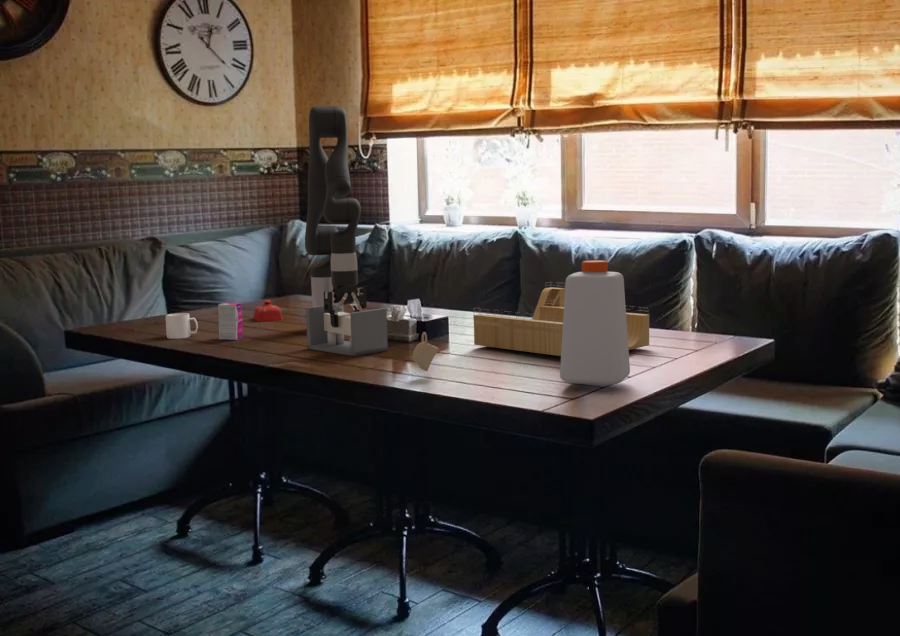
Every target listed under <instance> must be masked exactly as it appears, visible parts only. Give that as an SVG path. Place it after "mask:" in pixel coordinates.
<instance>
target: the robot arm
mask: <svg viewBox="0 0 900 636" xmlns="http://www.w3.org/2000/svg"><path fill="white" fill-rule="evenodd" d="M348 128H349V127H348V117H347V112H346V110H345V108H344V107H342V106H340V105H339V106H335V105H333V106H331V105H318V106H313V107H311V108H310V110H309V115H308V138H309V140H308V141H309V142H308V143H309V146H308V147H309V148H308V149H309V156H308V157H309V159H308V160H309V161H308V172H307V174H308V175H307V214H306V222H305V223H306V225H305V234H304V248H305V251H306V253H307V254H308V255H309V256H328V258H327V259H326V260H324V262H321V263H320V264H318V265H315V266H312V268H311V269H310V281H311V283H310V284H311V285H310V286H311V303H312V306H311V307H315V306H323V305H324V312H327V313H329V314H330V319H331V325H332V327H334V328H337V327H339V324H338V315H337V314H338V311H339V309H340V308H342V312H344V313H345V311H344V305H350V306H351V308H352V309H353V310H352V312H360V311H363V309H366V308H367V307H368V306H367V305H368V304H367V303H368V302H367V288H365V287H357V285H358V284H359V275H358V258H357V246H356V244H357V243H356V239H357V230H358V225H359V221H360V218H361V211H362V207H361V204H360V202H359V200H358V199H356V198H353V197H347V198H344V197H346V196H348V195H349V194H350V193H351V191H352V184H351V177H350V176H351V175H350V170H349V169H350V168H349V131H348V130H349V129H348ZM332 138H333V139H335V138H336V139H337V141H336V145H335V147H334V149H333V151H332V152H331V153H330V156H329V157H328V155H327V154H326V152H325V150H324V148H323V146H322V143H321V139H332ZM322 217H323V218H324V220H325V221H326V222H327V223H329V224H334V225H335V224H347V226H346V228H344V229H343V230H340V231H339V229H338V227H336V225H335V226H334V225H330V226H329V225H327V226H326V225H325V226H318V225H319V223H320V220H322V219H321V218H322Z"/></svg>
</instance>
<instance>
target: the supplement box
mask: <svg viewBox="0 0 900 636" xmlns="http://www.w3.org/2000/svg"><path fill="white" fill-rule="evenodd" d="M217 306H218V308H217V310H218V338H219V339H218V340H219V341H227V340H229V341H231V342H233V341H235V342H236V341H238V340H240V339H242V338H244V325H243V324H244V323H243V321H244V320H243V302H223V303H219V304H218V305H217Z"/></svg>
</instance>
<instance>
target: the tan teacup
mask: <svg viewBox="0 0 900 636" xmlns="http://www.w3.org/2000/svg"><path fill="white" fill-rule="evenodd" d="M438 351H440V347H438V346H437V345H434V344H433V345H432V344H430V343H429V342H428V335H427V333H426V331H423V332H422V334H421V342H419V343H418V344H416V346H414V349H413V352H412V359H413V361H414V362H415V364H416V365H418V367H419V368H420V370H422V371H425V372H428V371H429V369H430V366H431V364H432V361H433V360H434V358H435V356H436V354H437V353H438Z"/></svg>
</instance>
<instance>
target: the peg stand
mask: <svg viewBox="0 0 900 636" xmlns="http://www.w3.org/2000/svg"><path fill="white" fill-rule="evenodd" d="M338 312H342V308H340V309H339V311H338ZM324 313H327V312H324V305H323V306H315V307H312V306H309V307H305V317H306V318H305V320H306V341H307V342H306V343H307V349H308V350H314V351H320V352H326V353H332V354H339V355H345V356H350V357H351V356H352V357H359V356H365V355H370V354H375V353H382V352H387V351H388V349H389V348H388V347H389V346H388V345H389V344H388V317H387V315H388V314H387V308H385V307H384V308H383V307H381V308H377V309H376V308H374V309H368V310H362V311H360V312H353V311H352V312H349V313H350V317H351V336H349V340H348V341H347V340H345V335H344V334H339V333H334V332H329V331H324Z"/></svg>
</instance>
